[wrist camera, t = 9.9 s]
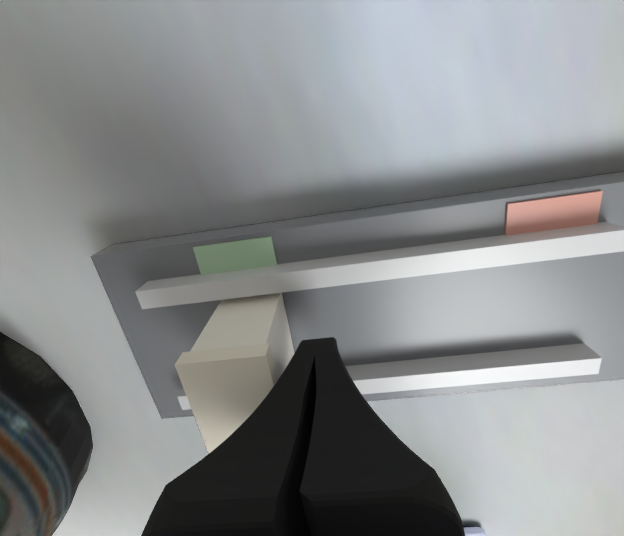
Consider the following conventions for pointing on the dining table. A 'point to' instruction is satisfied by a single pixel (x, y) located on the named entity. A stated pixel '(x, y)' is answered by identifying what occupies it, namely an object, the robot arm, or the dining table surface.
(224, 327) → the switch knob
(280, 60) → the dining table surface
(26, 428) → the beer stein
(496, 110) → the dining table surface
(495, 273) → the grey slider track board
